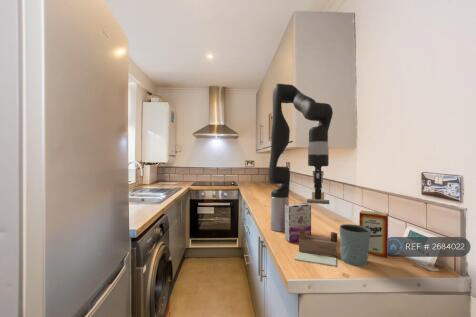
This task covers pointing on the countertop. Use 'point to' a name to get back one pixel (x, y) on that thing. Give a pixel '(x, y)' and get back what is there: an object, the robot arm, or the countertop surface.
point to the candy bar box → (297, 220)
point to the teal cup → (354, 244)
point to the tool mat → (316, 259)
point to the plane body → (318, 244)
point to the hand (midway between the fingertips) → (318, 198)
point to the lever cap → (318, 199)
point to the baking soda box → (376, 231)
